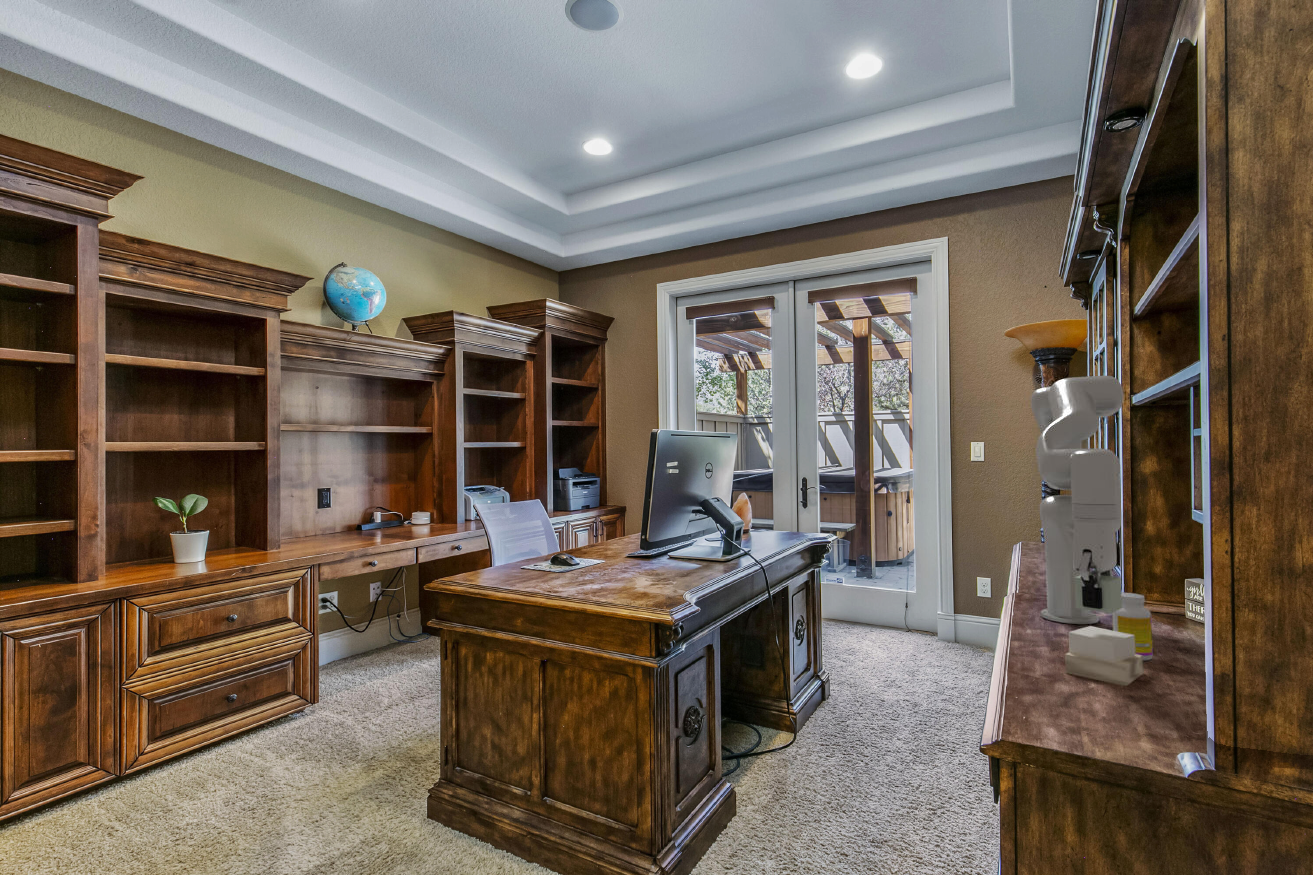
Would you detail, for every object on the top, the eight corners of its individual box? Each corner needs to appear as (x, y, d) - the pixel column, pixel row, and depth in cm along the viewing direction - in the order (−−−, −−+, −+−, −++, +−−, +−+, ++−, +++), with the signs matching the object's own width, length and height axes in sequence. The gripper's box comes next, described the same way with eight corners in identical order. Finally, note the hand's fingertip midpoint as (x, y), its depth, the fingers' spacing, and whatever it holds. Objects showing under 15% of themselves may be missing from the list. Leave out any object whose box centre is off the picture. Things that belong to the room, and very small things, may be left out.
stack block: (1086, 603, 131) (1085, 573, 131) (1121, 608, 127) (1120, 577, 127) (1075, 608, 127) (1074, 577, 128) (1111, 613, 123) (1110, 581, 123)
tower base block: (1084, 663, 134) (1084, 644, 134) (1143, 676, 126) (1142, 655, 126) (1065, 674, 127) (1064, 654, 128) (1126, 688, 120) (1125, 666, 120)
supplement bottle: (1160, 662, 132) (1157, 598, 132) (1123, 660, 133) (1120, 598, 134) (1142, 652, 139) (1139, 591, 139) (1107, 651, 140) (1105, 591, 140)
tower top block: (1090, 645, 133) (1090, 626, 133) (1135, 655, 126) (1134, 635, 126) (1069, 652, 129) (1068, 632, 129) (1113, 663, 122) (1113, 641, 122)
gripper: (1088, 508, 136) (1092, 594, 135) (1056, 515, 125) (1060, 609, 124) (1131, 510, 130) (1135, 600, 130) (1101, 517, 119) (1106, 616, 119)
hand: (1098, 603), depth 127 cm, fingers closed on stack block, 6 cm apart
